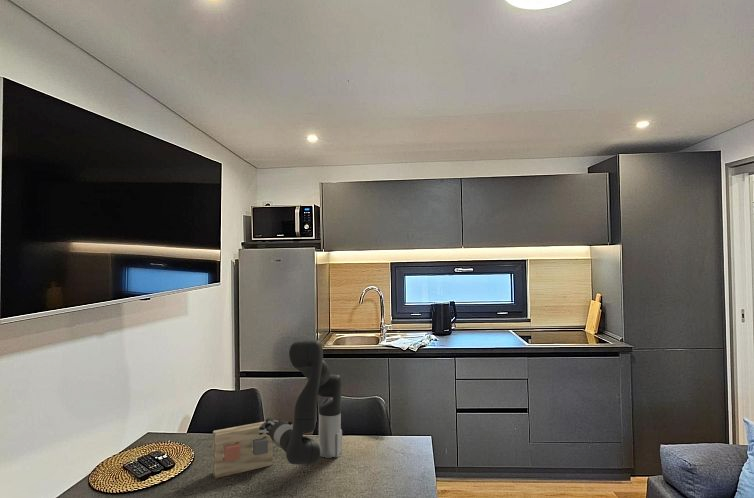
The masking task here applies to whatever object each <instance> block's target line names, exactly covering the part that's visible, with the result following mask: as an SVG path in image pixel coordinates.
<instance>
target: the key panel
mask: <svg viewBox="0 0 754 498" xmlns="http://www.w3.org/2000/svg"><path fill="white" fill-rule="evenodd" d="M264 422H265V421H260V422H254V423H250V424H249V423H248V424H243V425H239V426H233V427H227V428H223V429H222V428H220V429H216V430H213V431H212V475H213V476H214V478H215V479H218V478H223V477H227V476H232V475H235V474H240V473H245V472H247V471H253V470H257V469H261V468H266V467H270V466H273V465H274V464H273V458H274V455H273V451H274V449H273V448H274V445H273V443H274V441H273V440H272V439H271V437H270V435H267V434H266V433H263V434H262V435H259V427H260V426H261V425H262V424H263V423H264ZM265 437H266V438H267V439H268V453H264V454H260V455H254V453H253V440H255V439H260V438H265ZM235 443H238V444H239V445H240V459H237V460H233V461H228V462H226V461H225V460H224V446H225V445H230V444H235Z"/></svg>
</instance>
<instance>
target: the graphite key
mask: <svg viewBox="0 0 754 498" xmlns="http://www.w3.org/2000/svg"><path fill="white" fill-rule="evenodd" d="M252 449H253V453H254V455H260V454H264V453H268V439H267V438H266V437H265V438H262V437H259V438H254V439H252Z"/></svg>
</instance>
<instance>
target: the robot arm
mask: <svg viewBox="0 0 754 498" xmlns="http://www.w3.org/2000/svg"><path fill="white" fill-rule="evenodd" d="M288 351H289V352H288V356H289V362H290V364H291V366H292V367H293V368H294V369H296V370H297V371H299V372H300V373H302V375H303V376H304V377H305V378H306V380H307V382H306V384H305V386H304V387H303V389H302V391H301V392H300V393H299V395H298V397H297V398H296V401H295V405H294V411H293V412H294V415H293V421H291V420H286V419H285V420H284V419H278V420H276V419H273V418H271V417H268V418H266V419H265V421H263V422H264V423H263V424H262V425H261V426H260V427H259V435H262V434H263V433H266V434H267V435H270V437H271V439H272V440H273V443H274V444H276V446H278V448H280V449H281V450H283V451H284V452H285V455H286V460H287V462H288V463H289V464H291V465H305V466H306V465H307V466H310V465H311V466H312V465H315V464H316V463H317V462H318V461H319V460H320V457H321V458H324V457H325V458H324V459H333V458H332V457H334V458H338V457H340V455H341V454H342V452H343V430H342V426H341V424H342V423H341V422H342V420H341V419H342V418H341V416H342V413H341V412H342V410H341V409H342V408H341V407H342V390H343V386H342V385H343V379H342V376H341V375H339V374H331V369H330V367H329V365H328V364H327V362H326V361H325V360H324V349H323V345H322V343H321V341H320V340H317V339H316V340H313V339H312V340H302V341H301V340H300V341H295V342H294V343H292V344H291V345H290V347H289V350H288ZM318 396H319V397H323V398H332V399H331V401H330V400H329V401H327V402H325V403H322V404H321V405H320V406H319V407H318V442H317V440H315V439H312V438H311V437H307V436H305V435H304V434H309V433H313V432H314V431H315V429H316V425H317V424H316V422H317V421H316V420H317V405H318V404H317V402H318ZM340 453H341V454H340Z"/></svg>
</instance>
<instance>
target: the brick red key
mask: <svg viewBox="0 0 754 498" xmlns="http://www.w3.org/2000/svg"><path fill="white" fill-rule="evenodd" d="M223 455H224V460H225V461H226V462H228V461H233V460H237V459H240V445H239V444H238V443H235V442H234V443H229V444H224V445H223Z"/></svg>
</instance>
